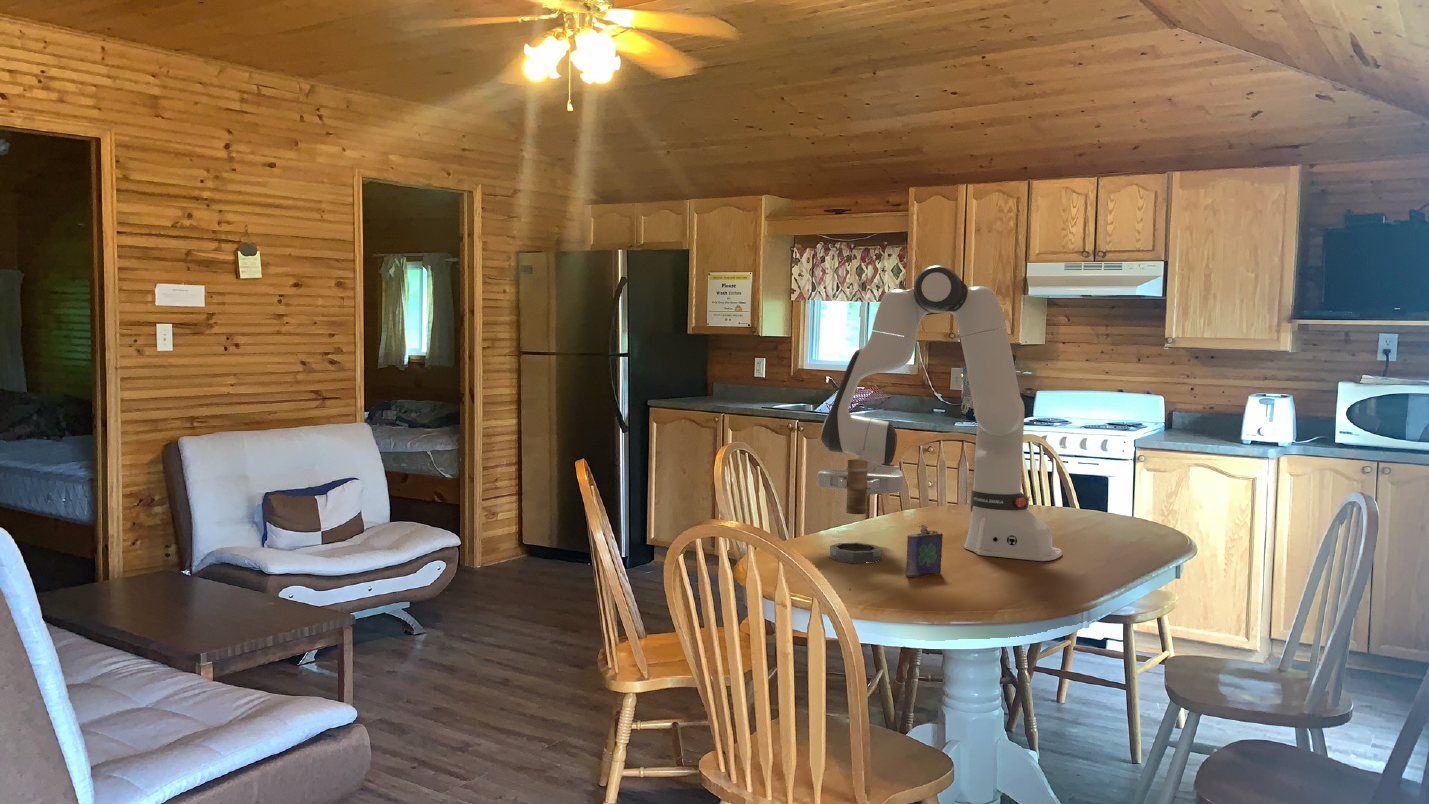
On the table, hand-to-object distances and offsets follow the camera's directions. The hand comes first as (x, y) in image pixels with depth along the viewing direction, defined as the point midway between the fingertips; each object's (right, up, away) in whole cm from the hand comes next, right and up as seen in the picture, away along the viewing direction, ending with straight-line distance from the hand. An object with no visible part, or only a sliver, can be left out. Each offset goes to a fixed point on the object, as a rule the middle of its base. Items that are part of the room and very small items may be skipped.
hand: (856, 484), depth 243 cm
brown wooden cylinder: (0, -6, +1) cm, 7 cm away
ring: (0, -17, +1) cm, 17 cm away
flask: (+12, -18, -14) cm, 26 cm away
